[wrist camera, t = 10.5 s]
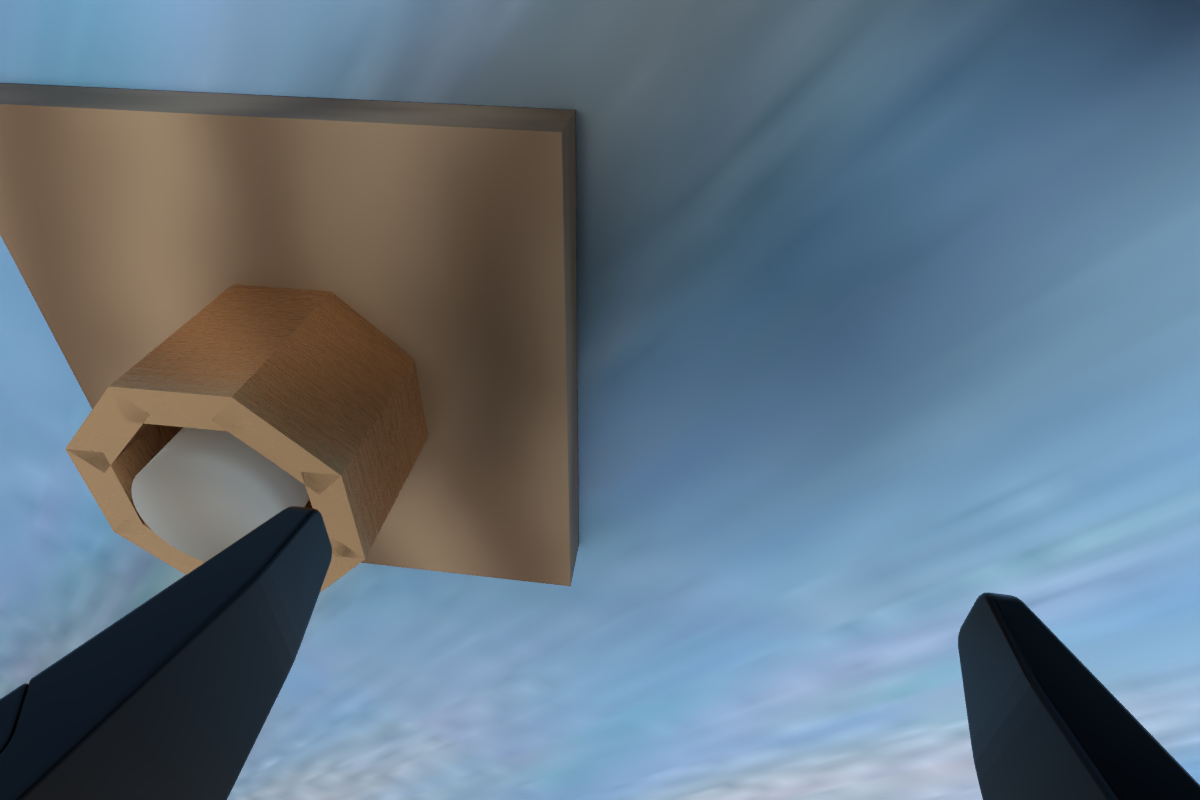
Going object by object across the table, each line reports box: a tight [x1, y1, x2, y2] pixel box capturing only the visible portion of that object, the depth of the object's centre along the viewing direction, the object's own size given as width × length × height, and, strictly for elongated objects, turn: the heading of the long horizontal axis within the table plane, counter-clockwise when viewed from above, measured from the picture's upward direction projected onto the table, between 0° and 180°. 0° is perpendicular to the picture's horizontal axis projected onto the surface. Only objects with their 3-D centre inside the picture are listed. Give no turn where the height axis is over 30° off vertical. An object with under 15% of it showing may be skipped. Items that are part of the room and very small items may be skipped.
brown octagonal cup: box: [66, 284, 428, 592], centre depth 19 cm, size 7×7×5 cm
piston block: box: [0, 83, 579, 586], centre depth 20 cm, size 16×16×8 cm
